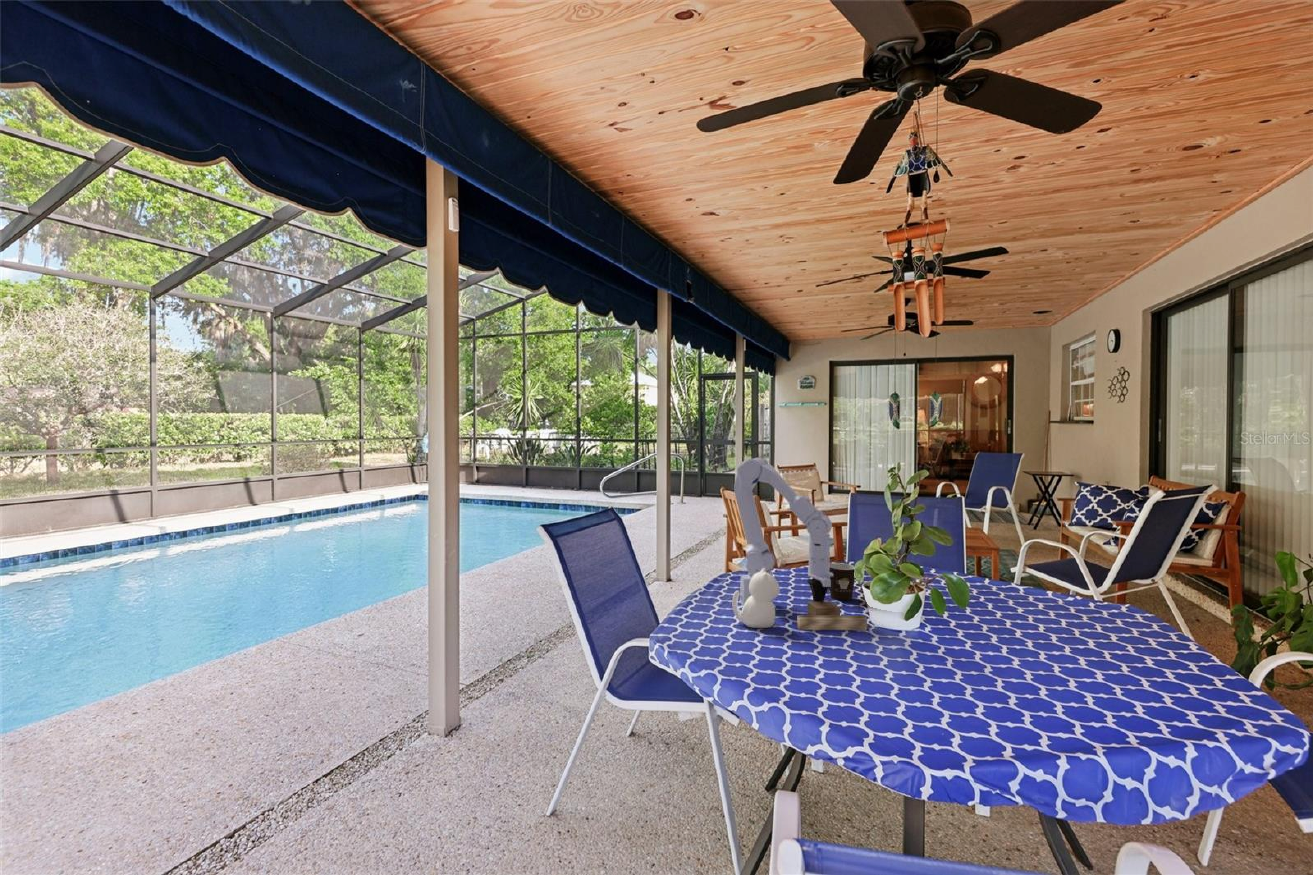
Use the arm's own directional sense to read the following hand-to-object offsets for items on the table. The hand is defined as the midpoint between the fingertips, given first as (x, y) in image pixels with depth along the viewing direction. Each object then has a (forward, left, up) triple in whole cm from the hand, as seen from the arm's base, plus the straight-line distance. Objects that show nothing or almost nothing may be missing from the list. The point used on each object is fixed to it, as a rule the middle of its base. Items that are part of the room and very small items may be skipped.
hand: (818, 605), depth 168 cm
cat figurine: (-20, -9, -3) cm, 22 cm away
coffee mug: (+11, +17, -3) cm, 20 cm away
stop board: (0, -12, -2) cm, 12 cm away
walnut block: (0, -4, -2) cm, 5 cm away
